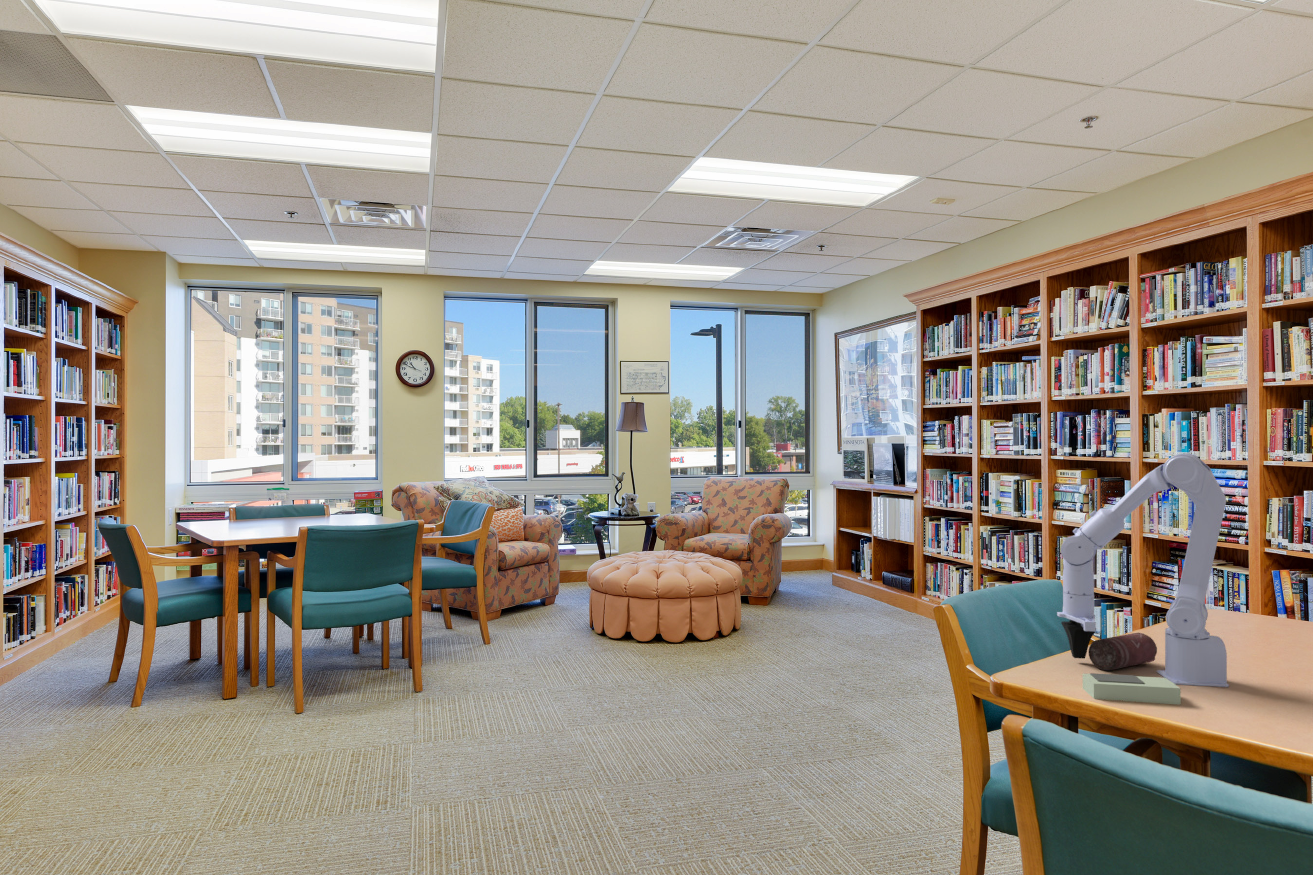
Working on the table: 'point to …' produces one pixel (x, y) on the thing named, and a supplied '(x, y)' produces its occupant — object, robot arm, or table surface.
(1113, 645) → the can
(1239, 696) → the table surface
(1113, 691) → the pale green slab
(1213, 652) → the robot arm
